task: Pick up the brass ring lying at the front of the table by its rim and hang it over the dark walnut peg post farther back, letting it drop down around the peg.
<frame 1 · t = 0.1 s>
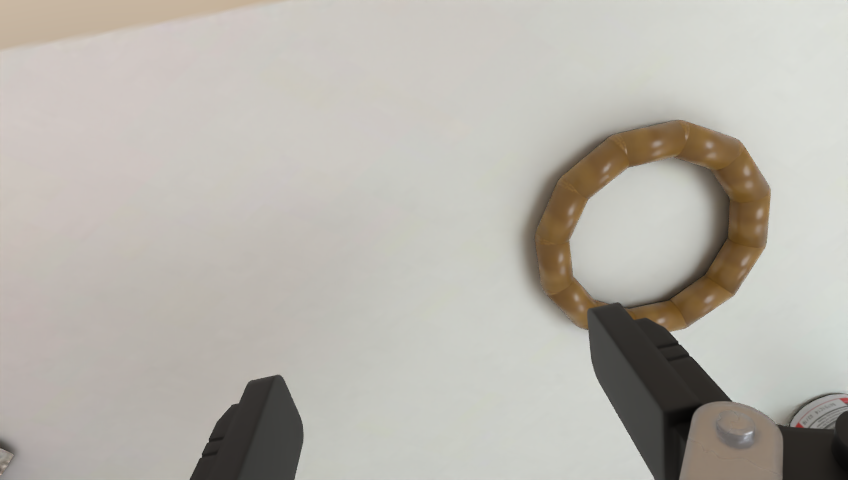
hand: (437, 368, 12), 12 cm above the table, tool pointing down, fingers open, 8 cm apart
ring: (650, 239, 23), point 1 cm above the table
pill bottle: (821, 418, 30), on the table
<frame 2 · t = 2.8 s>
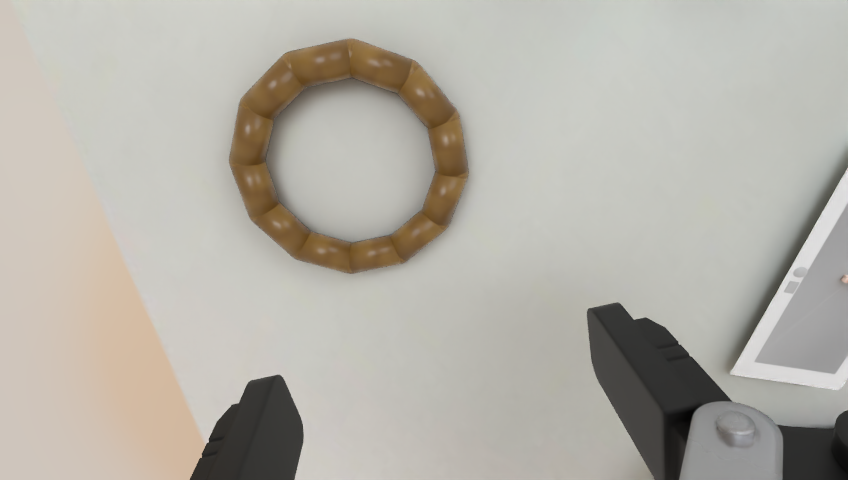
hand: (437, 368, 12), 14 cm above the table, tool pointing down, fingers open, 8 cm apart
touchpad: (832, 268, 28), on the table
ring: (351, 166, 23), point 1 cm above the table
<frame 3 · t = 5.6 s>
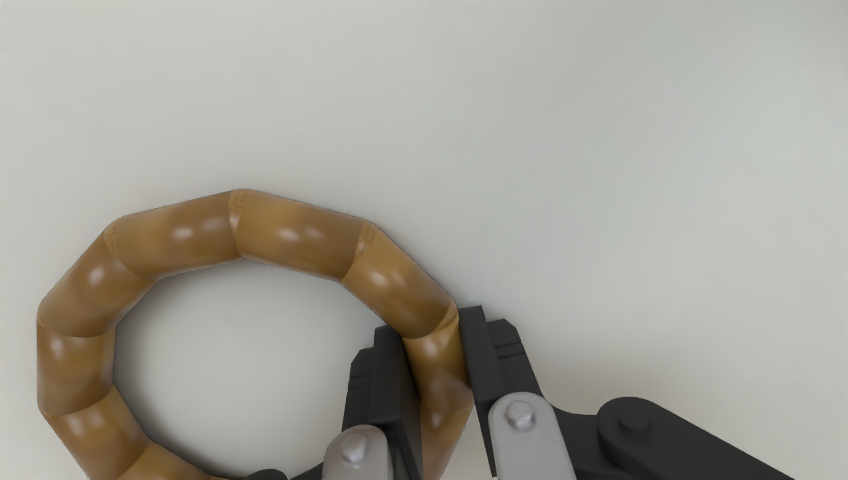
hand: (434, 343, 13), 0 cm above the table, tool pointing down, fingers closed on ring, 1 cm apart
ring: (265, 392, 13), point 1 cm above the table, touching gripper
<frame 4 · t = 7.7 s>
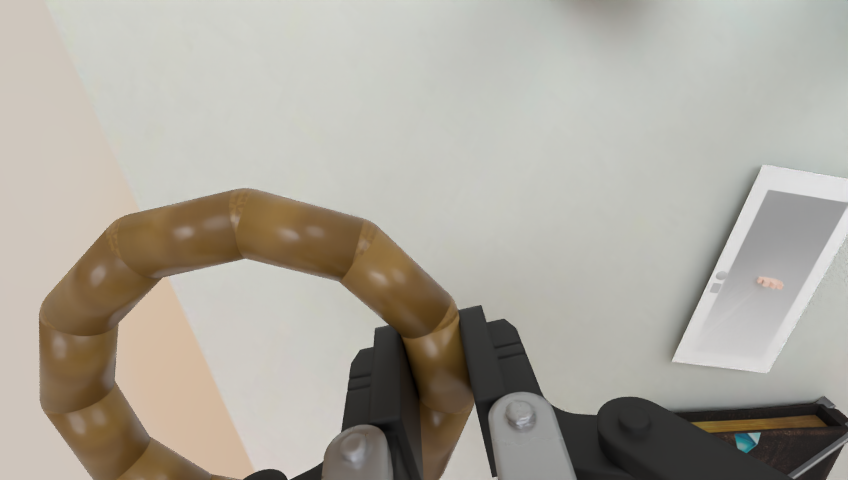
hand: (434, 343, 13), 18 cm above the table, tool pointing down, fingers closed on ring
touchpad: (753, 270, 33), on the table
ring: (266, 391, 13), point 18 cm above the table, touching gripper
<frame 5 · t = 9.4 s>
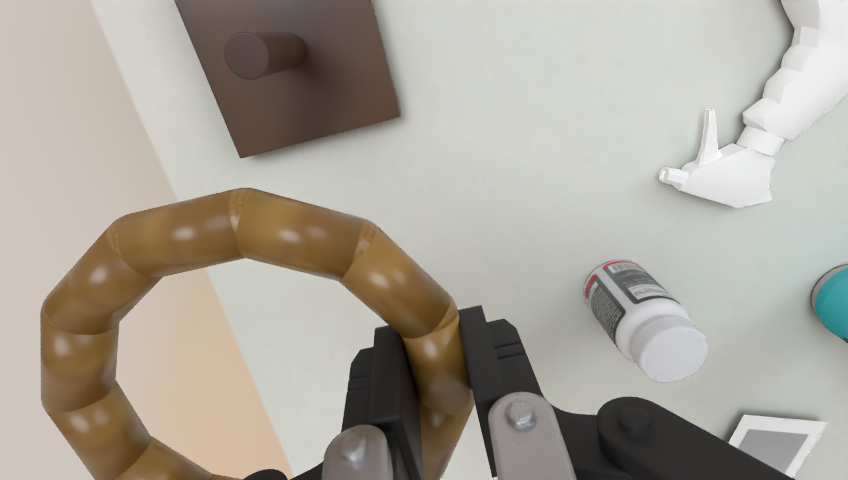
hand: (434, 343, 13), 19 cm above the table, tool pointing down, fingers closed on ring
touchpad: (739, 469, 44), on the table
beverage can: (838, 288, 36), on the table
peg post: (295, 49, 27), on the table
ring: (266, 391, 13), point 19 cm above the table, touching gripper
pill bottle: (612, 285, 35), on the table
spray bottle: (809, 5, 28), on the table
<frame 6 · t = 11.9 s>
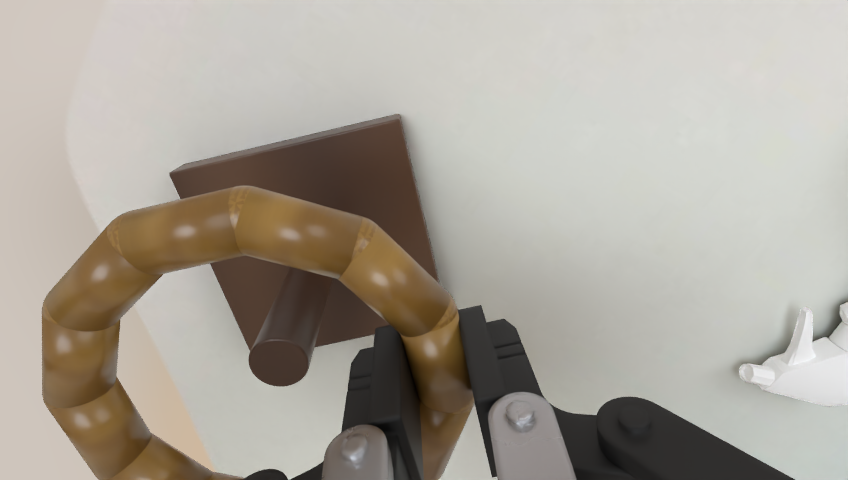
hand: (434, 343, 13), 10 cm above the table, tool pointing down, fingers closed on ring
peg post: (324, 239, 23), on the table
ring: (266, 389, 13), point 11 cm above the table, touching gripper
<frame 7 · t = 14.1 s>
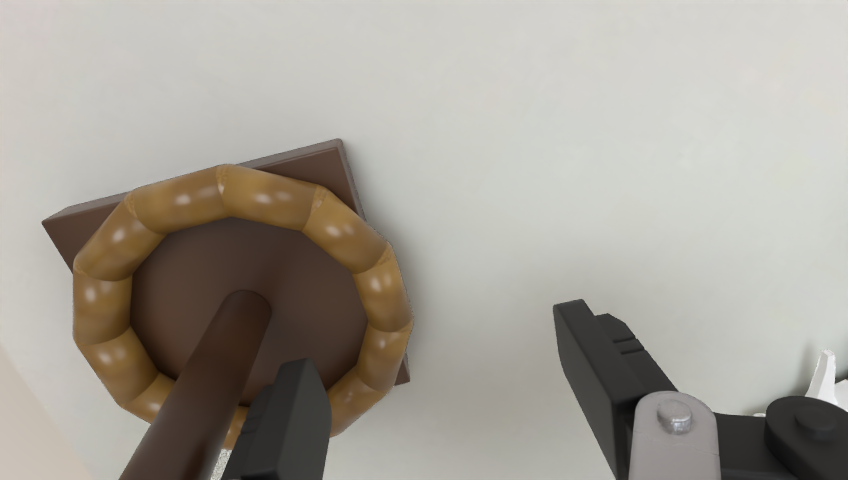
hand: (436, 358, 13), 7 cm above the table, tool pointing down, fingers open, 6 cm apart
peg post: (255, 291, 19), on the table
ring: (250, 325, 17), point 2 cm above the table, touching peg post
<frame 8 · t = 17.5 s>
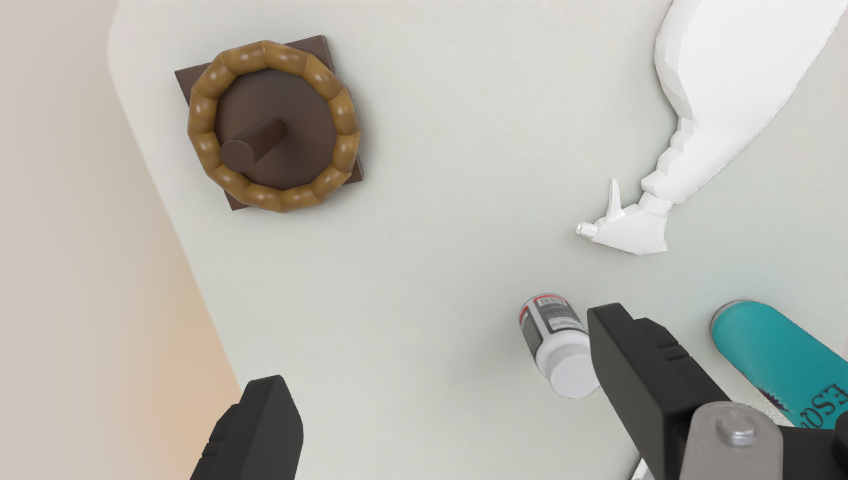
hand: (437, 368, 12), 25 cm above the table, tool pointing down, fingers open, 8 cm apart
beverage can: (733, 319, 43), on the table
peg post: (278, 125, 34), on the table
ring: (275, 132, 32), point 2 cm above the table, touching peg post
pill bottle: (543, 314, 42), on the table
spray bottle: (692, 98, 35), on the table
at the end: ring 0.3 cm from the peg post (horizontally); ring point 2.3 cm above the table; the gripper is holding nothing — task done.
